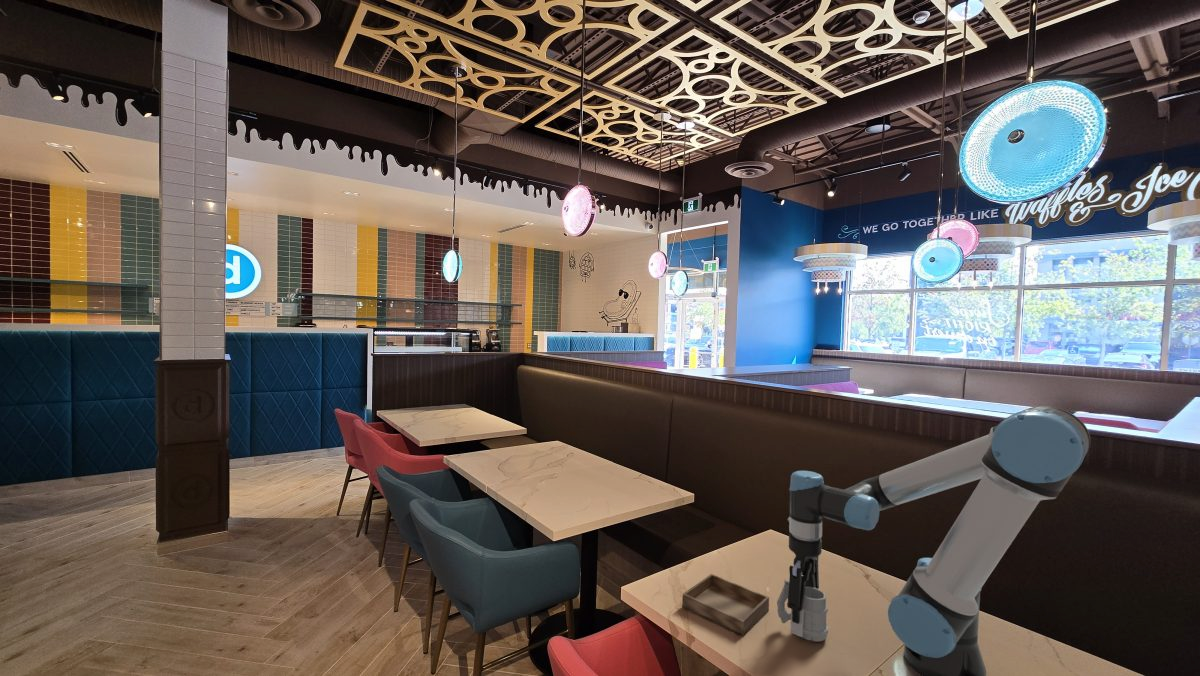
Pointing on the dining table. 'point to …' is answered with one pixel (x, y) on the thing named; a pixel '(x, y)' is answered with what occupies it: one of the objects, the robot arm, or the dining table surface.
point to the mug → (807, 612)
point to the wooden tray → (726, 604)
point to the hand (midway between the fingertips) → (803, 626)
